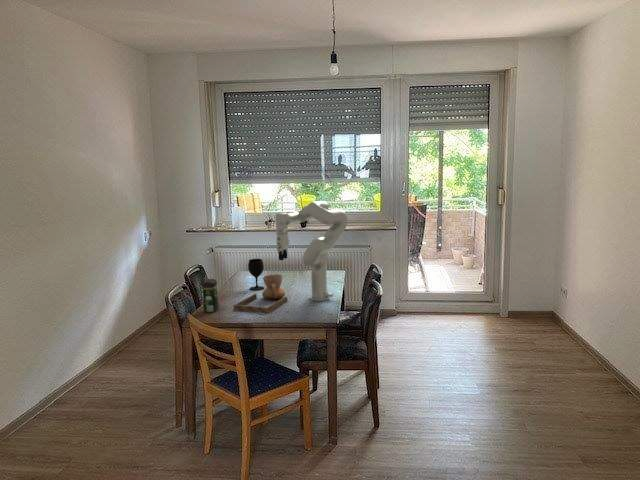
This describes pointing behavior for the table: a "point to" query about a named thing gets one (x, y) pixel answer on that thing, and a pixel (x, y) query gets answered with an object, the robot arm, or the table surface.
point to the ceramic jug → (273, 287)
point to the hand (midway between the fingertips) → (283, 258)
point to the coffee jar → (210, 295)
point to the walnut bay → (243, 307)
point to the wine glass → (256, 271)
